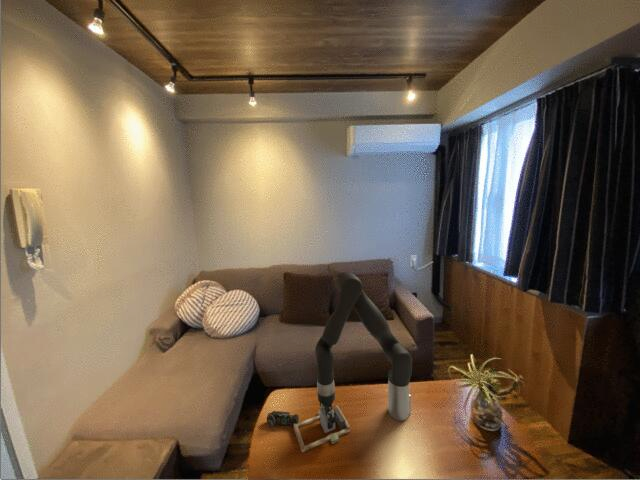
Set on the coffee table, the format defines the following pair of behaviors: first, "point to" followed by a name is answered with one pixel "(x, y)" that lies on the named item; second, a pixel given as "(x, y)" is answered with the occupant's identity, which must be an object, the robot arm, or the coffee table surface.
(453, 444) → the coffee table surface
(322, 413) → the grey rectangular block
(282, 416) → the stun grenade
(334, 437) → the beam frame
